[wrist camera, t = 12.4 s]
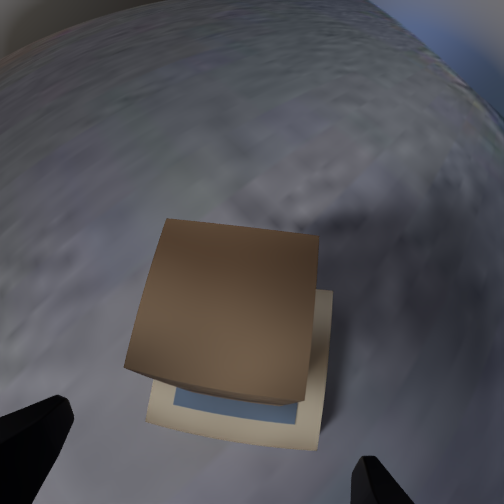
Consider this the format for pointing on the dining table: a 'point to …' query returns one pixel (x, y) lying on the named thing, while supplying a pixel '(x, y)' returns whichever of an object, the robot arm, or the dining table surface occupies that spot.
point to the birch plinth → (252, 414)
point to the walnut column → (228, 312)
